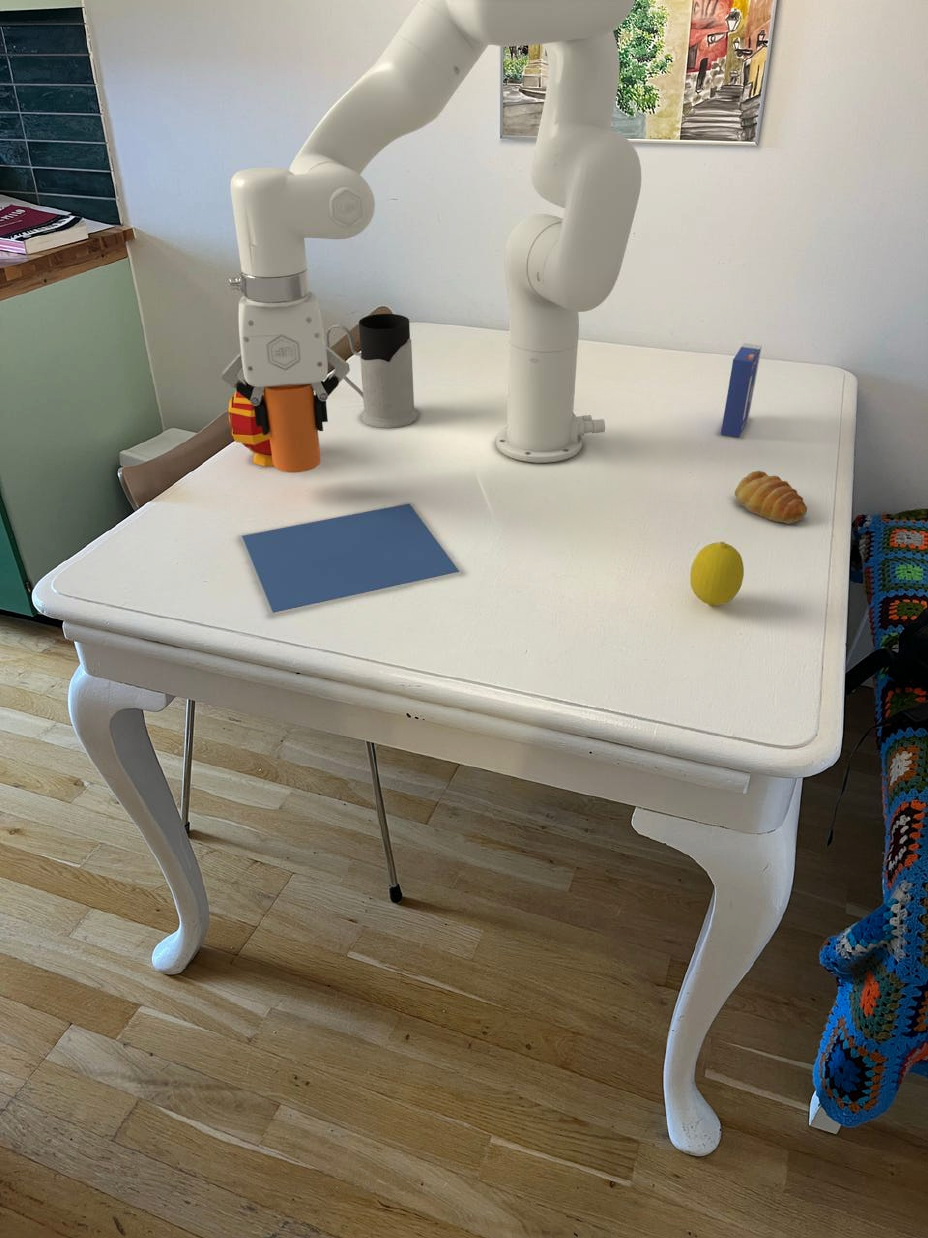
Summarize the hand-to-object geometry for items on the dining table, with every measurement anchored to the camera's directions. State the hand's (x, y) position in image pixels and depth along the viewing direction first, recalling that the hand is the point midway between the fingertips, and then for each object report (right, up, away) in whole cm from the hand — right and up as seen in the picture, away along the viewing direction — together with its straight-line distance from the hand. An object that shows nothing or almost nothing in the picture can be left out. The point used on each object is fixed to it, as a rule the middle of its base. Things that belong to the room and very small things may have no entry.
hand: (293, 427), depth 118 cm
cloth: (+8, -17, -7) cm, 20 cm away
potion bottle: (-6, -1, +15) cm, 16 cm away
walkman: (+63, +5, +23) cm, 68 cm away
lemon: (+49, -23, -16) cm, 57 cm away
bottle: (0, -4, +3) cm, 5 cm away
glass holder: (+8, +8, +28) cm, 30 cm away
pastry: (+62, -10, +2) cm, 63 cm away
